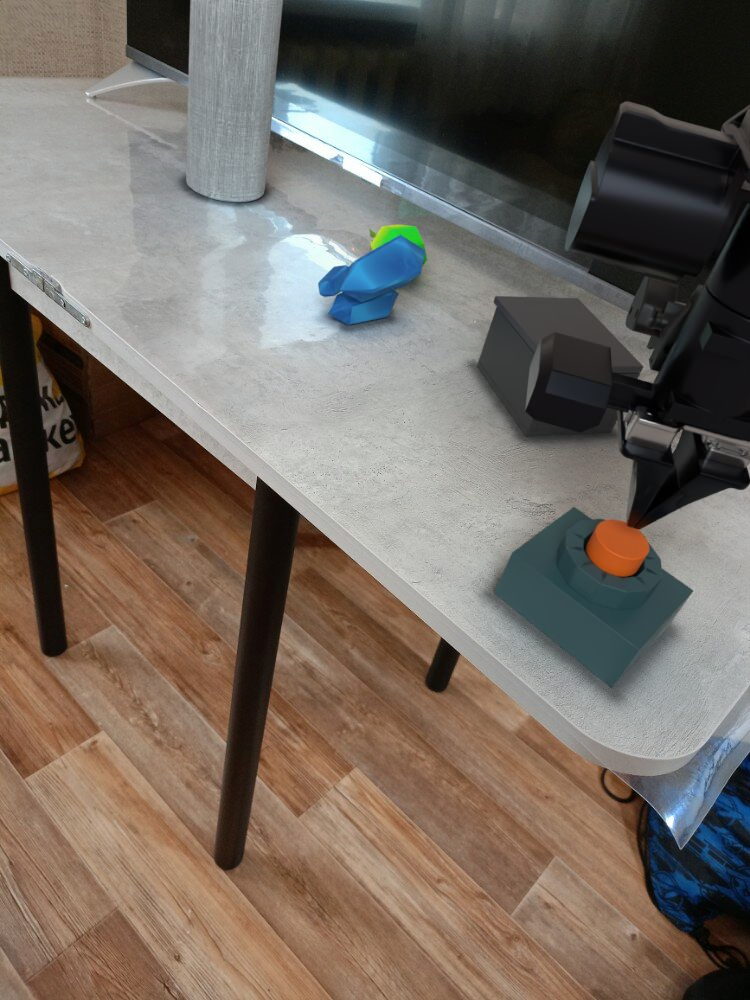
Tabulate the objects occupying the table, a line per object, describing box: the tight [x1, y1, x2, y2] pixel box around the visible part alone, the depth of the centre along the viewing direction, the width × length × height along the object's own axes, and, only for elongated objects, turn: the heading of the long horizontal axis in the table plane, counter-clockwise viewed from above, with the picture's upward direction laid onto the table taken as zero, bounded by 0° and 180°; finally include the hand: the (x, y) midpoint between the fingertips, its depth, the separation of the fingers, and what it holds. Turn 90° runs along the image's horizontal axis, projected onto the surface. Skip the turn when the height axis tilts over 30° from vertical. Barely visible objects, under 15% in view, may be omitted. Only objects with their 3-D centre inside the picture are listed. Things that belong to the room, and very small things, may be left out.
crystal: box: [317, 235, 426, 326], centre depth 77 cm, size 7×9×12 cm
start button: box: [586, 519, 650, 577], centre depth 49 cm, size 4×4×2 cm
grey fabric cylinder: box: [185, 0, 284, 203], centre depth 88 cm, size 10×10×27 cm
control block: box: [493, 506, 694, 689], centre depth 52 cm, size 10×8×6 cm
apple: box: [368, 223, 428, 268], centre depth 87 cm, size 7×6×9 cm
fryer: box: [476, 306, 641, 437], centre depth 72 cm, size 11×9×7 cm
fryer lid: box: [493, 295, 644, 374], centre depth 70 cm, size 12×9×1 cm
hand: (632, 523), depth 48 cm, fingers closed
